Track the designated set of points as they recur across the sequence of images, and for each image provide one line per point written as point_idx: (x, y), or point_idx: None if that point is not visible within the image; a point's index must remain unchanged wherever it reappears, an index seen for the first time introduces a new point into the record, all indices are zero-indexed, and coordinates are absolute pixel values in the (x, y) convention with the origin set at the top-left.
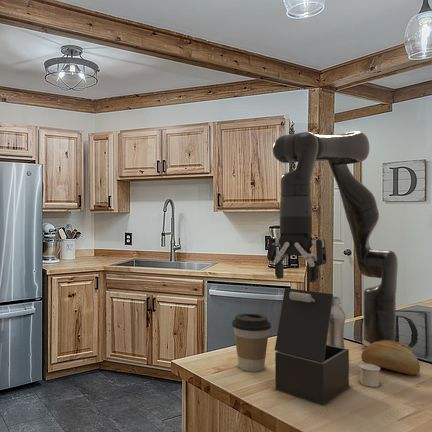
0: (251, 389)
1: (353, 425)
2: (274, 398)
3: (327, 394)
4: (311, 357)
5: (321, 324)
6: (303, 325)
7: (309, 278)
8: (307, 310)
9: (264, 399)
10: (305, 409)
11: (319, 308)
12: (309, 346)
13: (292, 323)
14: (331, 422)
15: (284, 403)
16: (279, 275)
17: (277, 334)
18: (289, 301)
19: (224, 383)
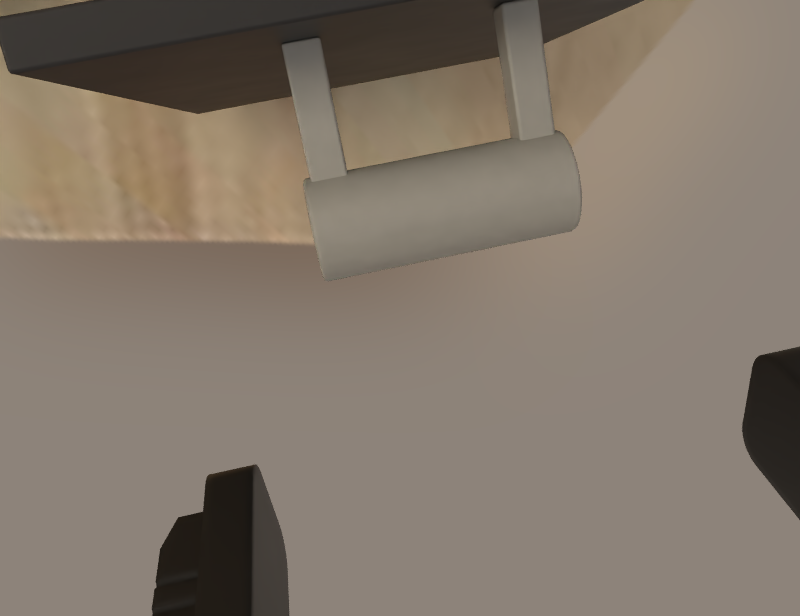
0: (147, 140)
1: (625, 61)
2: (282, 127)
3: None
4: (457, 64)
5: (562, 23)
6: (391, 57)
7: (775, 485)
8: (428, 36)
9: (266, 171)
10: (433, 102)
11: (572, 3)
12: (444, 61)
13: (285, 78)
14: (556, 111)
15: (343, 130)
16: (287, 585)
17: (178, 109)
18: (181, 70)
19: (20, 199)
